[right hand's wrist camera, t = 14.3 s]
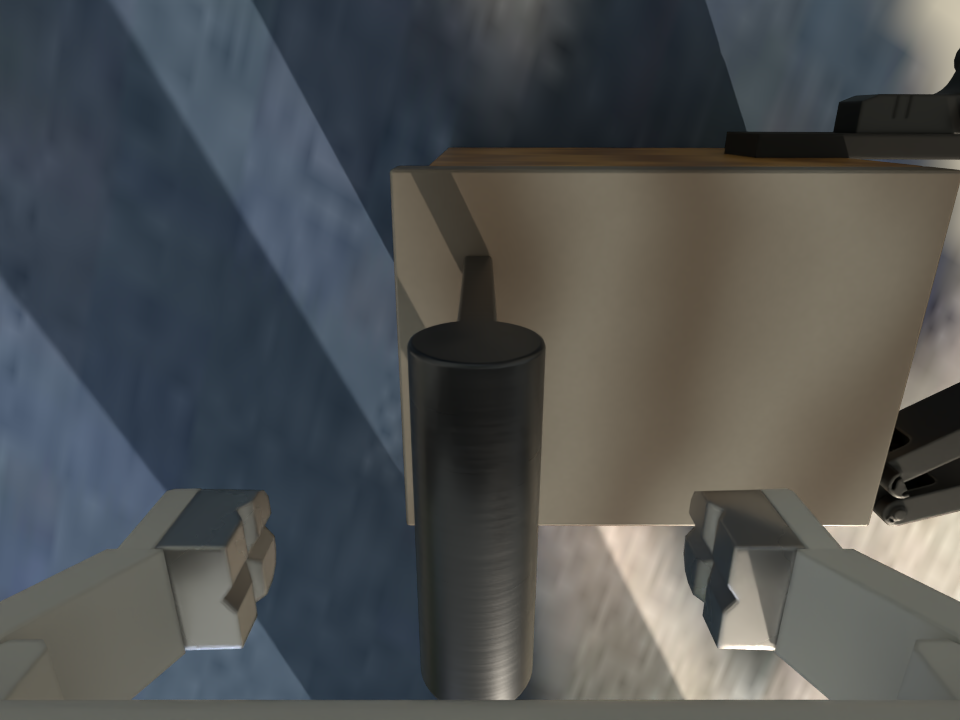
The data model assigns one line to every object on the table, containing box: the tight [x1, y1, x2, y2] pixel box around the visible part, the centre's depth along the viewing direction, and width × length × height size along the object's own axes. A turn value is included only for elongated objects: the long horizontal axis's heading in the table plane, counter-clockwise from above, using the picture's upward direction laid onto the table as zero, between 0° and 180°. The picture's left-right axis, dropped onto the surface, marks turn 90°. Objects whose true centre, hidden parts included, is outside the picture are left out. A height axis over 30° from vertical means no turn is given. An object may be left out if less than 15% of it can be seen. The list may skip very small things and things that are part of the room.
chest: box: [429, 148, 923, 167], centre depth 23 cm, size 13×10×11 cm
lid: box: [390, 166, 960, 700], centre depth 14 cm, size 14×10×9 cm
